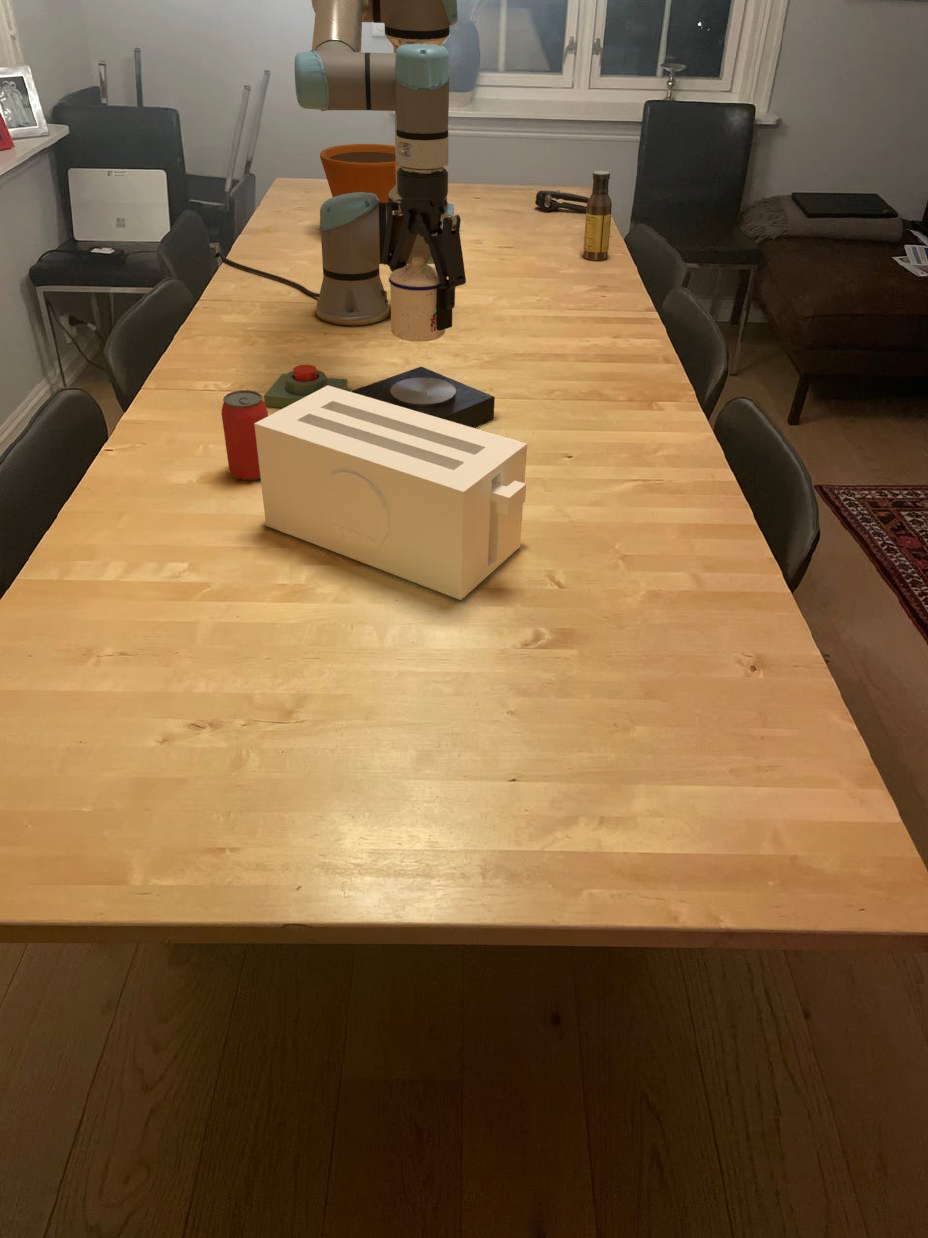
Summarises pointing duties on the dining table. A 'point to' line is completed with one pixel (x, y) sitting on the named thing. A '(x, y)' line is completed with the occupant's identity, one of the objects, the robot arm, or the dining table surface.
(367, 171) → the flower pot
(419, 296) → the teacup with lid
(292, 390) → the box
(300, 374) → the button
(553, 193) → the can opener
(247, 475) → the beer can
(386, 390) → the cup warmer
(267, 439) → the toaster
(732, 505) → the dining table surface
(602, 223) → the sauce bottle
